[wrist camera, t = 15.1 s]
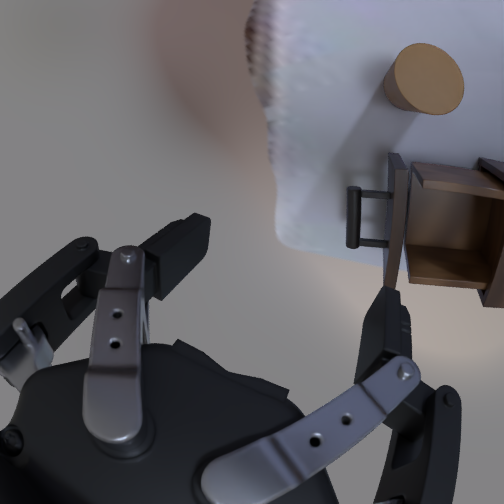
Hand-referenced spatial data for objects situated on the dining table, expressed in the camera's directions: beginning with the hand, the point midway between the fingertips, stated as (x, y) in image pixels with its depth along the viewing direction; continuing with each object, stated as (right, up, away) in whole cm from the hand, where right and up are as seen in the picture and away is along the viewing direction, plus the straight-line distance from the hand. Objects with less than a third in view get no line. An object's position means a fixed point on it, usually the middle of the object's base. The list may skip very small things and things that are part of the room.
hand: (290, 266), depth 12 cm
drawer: (+17, +5, +14) cm, 23 cm away
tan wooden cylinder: (+14, +17, +10) cm, 24 cm away
